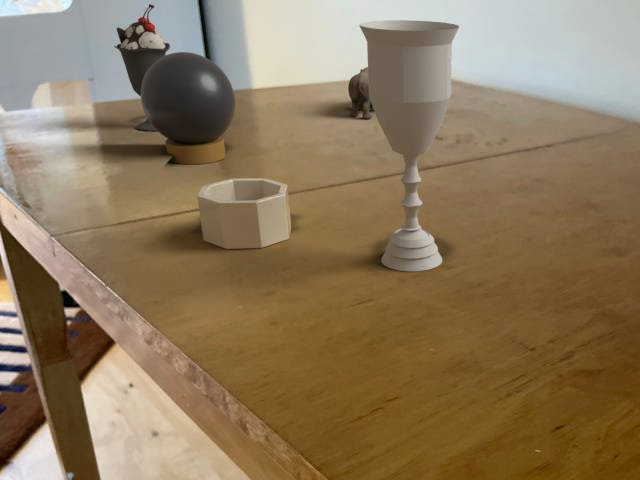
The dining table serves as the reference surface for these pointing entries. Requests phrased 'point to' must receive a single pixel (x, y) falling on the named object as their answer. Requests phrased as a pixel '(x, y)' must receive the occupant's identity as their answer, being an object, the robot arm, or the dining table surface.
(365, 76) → the rhino figurine
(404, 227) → the chalice
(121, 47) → the sundae
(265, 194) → the ring
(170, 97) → the ball
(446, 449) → the dining table surface
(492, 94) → the dining table surface
